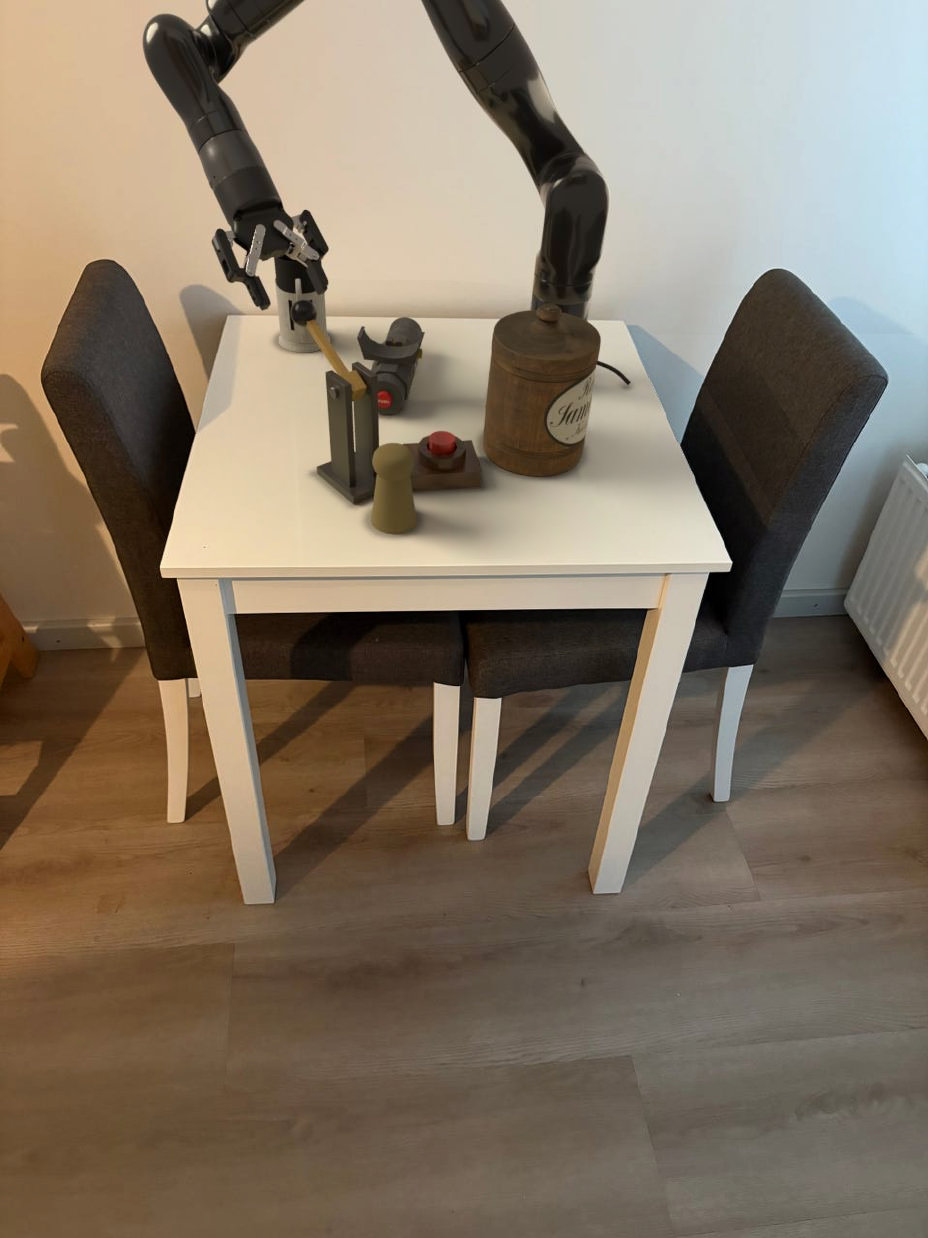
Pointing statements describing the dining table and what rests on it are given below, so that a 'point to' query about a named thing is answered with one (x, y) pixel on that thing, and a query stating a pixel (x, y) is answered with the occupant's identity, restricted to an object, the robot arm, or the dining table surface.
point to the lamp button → (442, 443)
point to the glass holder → (290, 289)
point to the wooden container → (540, 390)
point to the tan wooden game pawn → (393, 489)
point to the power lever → (326, 345)
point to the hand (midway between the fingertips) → (295, 299)
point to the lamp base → (444, 467)
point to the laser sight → (394, 361)
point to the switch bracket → (352, 436)
